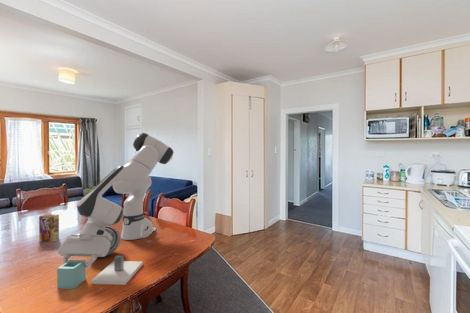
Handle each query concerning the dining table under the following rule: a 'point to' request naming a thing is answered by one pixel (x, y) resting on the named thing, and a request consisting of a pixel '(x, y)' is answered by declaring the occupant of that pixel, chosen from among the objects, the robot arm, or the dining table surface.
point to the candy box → (48, 228)
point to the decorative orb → (113, 239)
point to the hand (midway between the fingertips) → (75, 266)
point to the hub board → (117, 273)
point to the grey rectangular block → (118, 263)
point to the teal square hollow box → (71, 274)
